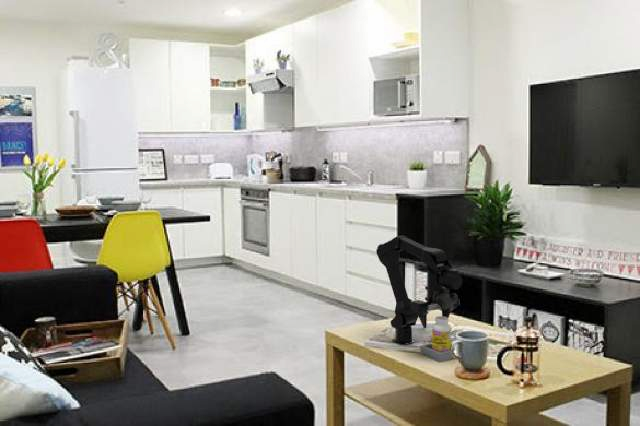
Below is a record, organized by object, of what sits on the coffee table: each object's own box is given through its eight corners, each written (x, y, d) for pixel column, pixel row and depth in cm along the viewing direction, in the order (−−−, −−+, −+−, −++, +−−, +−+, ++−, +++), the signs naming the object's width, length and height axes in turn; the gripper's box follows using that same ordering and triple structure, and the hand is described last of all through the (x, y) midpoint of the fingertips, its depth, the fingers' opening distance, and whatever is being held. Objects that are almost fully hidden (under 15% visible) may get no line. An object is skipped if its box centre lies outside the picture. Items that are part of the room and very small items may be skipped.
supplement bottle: (429, 354, 245) (429, 319, 243) (435, 348, 251) (435, 314, 249) (447, 356, 242) (448, 321, 240) (453, 351, 248) (453, 316, 246)
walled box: (420, 353, 248) (420, 345, 248) (443, 348, 254) (443, 340, 253) (439, 362, 239) (439, 354, 239) (463, 356, 244) (463, 348, 244)
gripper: (428, 292, 235) (428, 336, 237) (470, 285, 244) (469, 327, 246) (409, 285, 245) (409, 327, 247) (449, 279, 254) (449, 320, 256)
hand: (434, 326), depth 249 cm, fingers open, 9 cm apart
